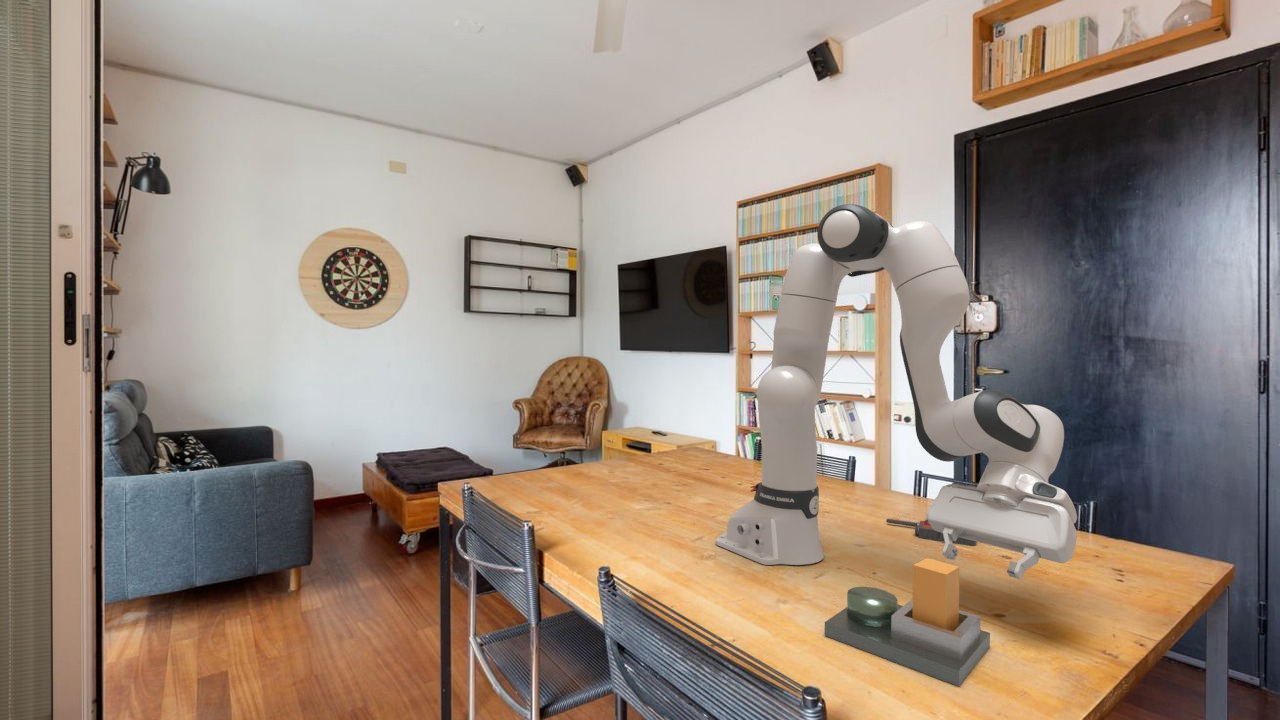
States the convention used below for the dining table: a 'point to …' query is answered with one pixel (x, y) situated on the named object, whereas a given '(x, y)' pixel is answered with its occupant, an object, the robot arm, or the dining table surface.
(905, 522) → the walkie-talkie
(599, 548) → the dining table surface
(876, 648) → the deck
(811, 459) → the robot arm
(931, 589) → the tall orange prism
